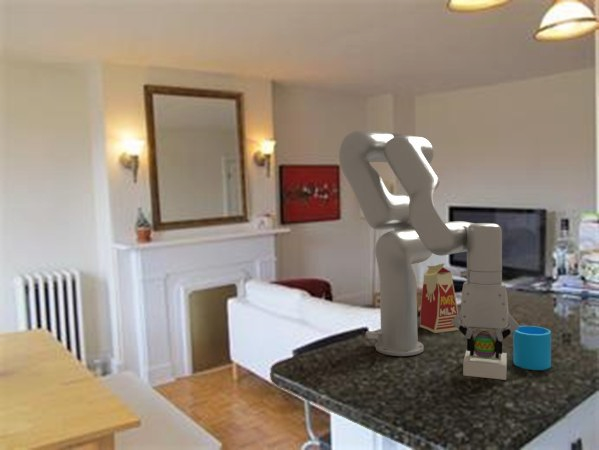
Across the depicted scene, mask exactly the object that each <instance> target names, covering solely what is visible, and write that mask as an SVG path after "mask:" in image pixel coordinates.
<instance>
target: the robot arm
mask: <svg viewBox="0 0 599 450" xmlns="http://www.w3.org/2000/svg"><path fill="white" fill-rule="evenodd" d="M339 147H340V148H339V153H338V154H339V155H338V158H339V165H340V169H341V171H342V173H343V175H344V177H345V178H346V180H347V182H348V183H349V185H350V187H351V189H352V192H353V193H354V196H355V198H356V201H357V203H358V204H359V207H360V209H361V211H362V214H363V217H364V218H365V220H366V223H367V224H368V225H369V226H370V228H372V229H374V230H378V231H379V230H380V231H383V230H390V231H387V232H385V233H383V234H382V235H381V236H379V238H378V239H377V241H376V244H375V249H374V250H375V251H374V253H375V258H376V263H377V268H378V275H379V277H378V278H379V298H380V299H379V302H380V303H379V304H380V305H379V306H380V330H378V331H371V330H370V331H368V330H367V331H365V338H366V339H367V340H368V341H376V343H375V346H374V347H375V350H376V351H377V352H378V353H380V354H383V355H387V356H393V357H411V356H415V355H419V354H421V353H422V352H424V350H425V349H424V347H425V346H424V344H423V343H422V342H421V341H418V340H419V337H418V334H419V333H418V290H417V288H418V285H417V278H416V275H415V273H414V270H413V266H412V265H414V264H419V263H423V262H425V261H427V260H428V259H430V258H431V256H432V255H436V256H439V257H440V256H441V257H442V256H443V257H444V256H447V255H453V254H459V253H466V270H465V271H460V275H459V276H460V278H464V279H465V280H466V281H465V282H463V284H462V290H461V302H460V311H458V314H457V315H456V316H455V318H454V319H453V320H452V322H451V323H452V324H453V325H454V326H455V327H456V328H458V329H459V330H458V331H460V332H461V333H462V335H464V336H465V338H466V350H467V351H470V356H473V355H474V340H475V336H474V334H473V330H474V329H486V330H494V331H495V332H494V333H495V334H496V338H495V358H498V359H499V354H502V353H503V341H504V340H505V339H506V338H508V336H510V334H513V332H514V331H515V330H517V329H518V328H519V326H520V325H519V323H517V321H516V320H515V319H514V318H513V316H512V314H511V313H510V312H509V302H508V300H509V299H508V292H507V287H506V284H505V283H504V282H503V231H502V230H503V229H502V227H501V226H500V225H499V224H497V223H491V222H490V223H489V222H481V223H480V222H477V223H474V222H469V221H464V220H463V221H462V220H456V221H446V222H444V220H443V218H442V217H441V216H440V214H439V212H438V210H437V208H436V206H435V203H434V199H433V196H434V192H436V191H437V189H438V188H439V186H440V179H439V177H438V176H437V174H436V173H435V171H434V169H433V168H432V166H431V165H430V164H431V163H432V160H433V158H434V147H433V145H432V144H431V142H430V141H429V140H428V139H426V138H424V137H423V136H419V135H417V136H416V135H409V134H402V133H397V132H396V133H395V132H390V131H380V130H369V129H367V130H366V129H360V130H359V129H358V130H355V131H354V130H353V131H351V132H349V133H347V135H345V137H344V138H343V140H342V142H341V144H340V146H339ZM371 163H388V166H389V167H390V169H391V170H392V172H393V174H394V176H395V177H396V179H397V180H398V182H399V184H400V186H401V187H402V188H403V190H404V192H405V193H406V194H402V193H392V192H391V193H390V192H389V189H388V188H387V186H386V184H385V182H384V180H383V178H382V176H381V175H380V173H379V172H378V171H377V170H376V169H375V168H374V166H372V165H371ZM391 229H392V230H391ZM508 325H509V326H508Z"/></svg>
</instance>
